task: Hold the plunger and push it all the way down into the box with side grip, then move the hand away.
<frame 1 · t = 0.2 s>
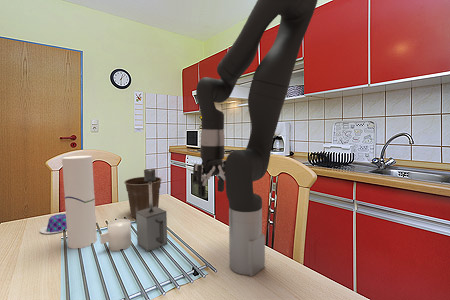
hand: (211, 194, 74), 18 cm above the table, tool pointing down, fingers open, 8 cm apart
plant pot: (144, 214, 107), on the table
plunger: (150, 193, 77), point 18 cm above the table, slide at 0.0 cm
container: (82, 243, 80), on the table
box with side grip: (152, 244, 78), on the table
mug: (120, 245, 78), on the table
purple hat: (59, 229, 92), on the table
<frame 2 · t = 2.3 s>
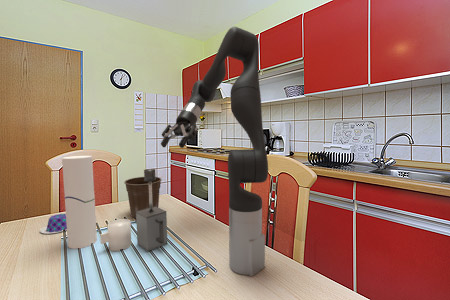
hand: (171, 146, 85), 33 cm above the table, tool tilted 45°, fingers open, 8 cm apart
nothing on the table moved.
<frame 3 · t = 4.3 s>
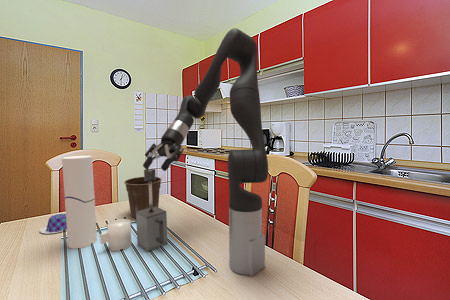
hand: (153, 168, 79), 26 cm above the table, tool tilted 45°, fingers open, 8 cm apart
nothing on the table moved.
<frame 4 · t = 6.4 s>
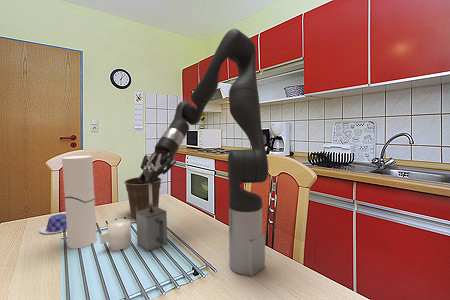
hand: (145, 181, 75), 22 cm above the table, tool tilted 45°, fingers closed on plunger, 3 cm apart
plunger: (150, 193, 77), point 18 cm above the table, slide at 0.0 cm, touching gripper
everything else where it was.
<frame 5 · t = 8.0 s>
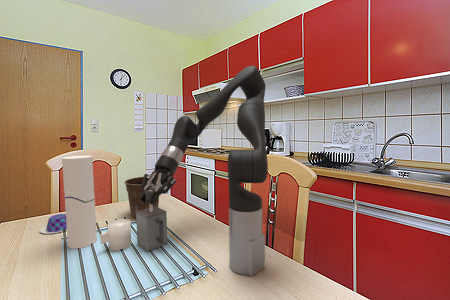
hand: (146, 202, 75), 15 cm above the table, tool tilted 45°, fingers closed on plunger, 3 cm apart
plunger: (151, 213, 78), point 11 cm above the table, slide at 6.8 cm, touching gripper
everything else where it was.
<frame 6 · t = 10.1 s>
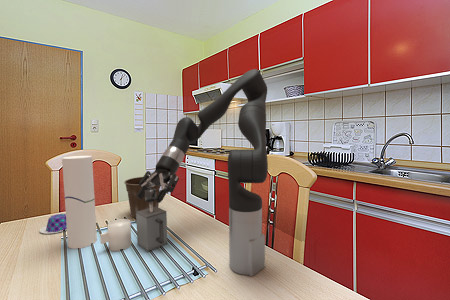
hand: (147, 199, 76), 16 cm above the table, tool tilted 45°, fingers open, 8 cm apart
plunger: (151, 213, 78), point 11 cm above the table, slide at 6.9 cm
everything else where it was.
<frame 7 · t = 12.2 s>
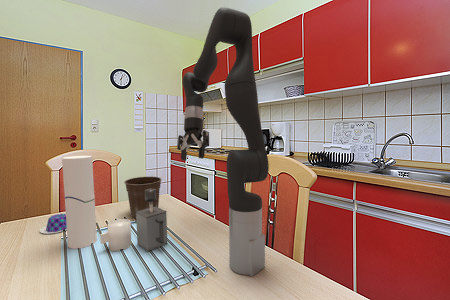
hand: (192, 159, 88), 28 cm above the table, tool tilted 20°, fingers open, 8 cm apart
nothing on the table moved.
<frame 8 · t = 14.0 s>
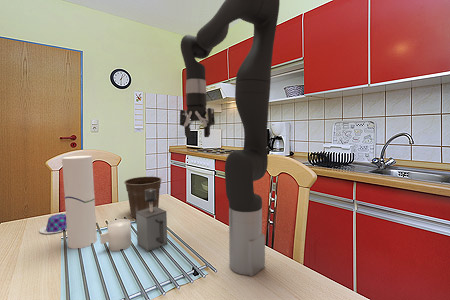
hand: (197, 137, 86), 36 cm above the table, tool pointing down, fingers open, 8 cm apart
at the end: plunger slide at 6.9 cm; the gripper is holding nothing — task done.
